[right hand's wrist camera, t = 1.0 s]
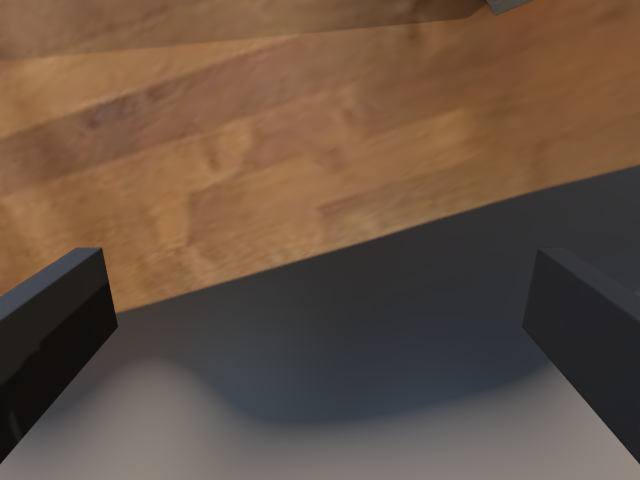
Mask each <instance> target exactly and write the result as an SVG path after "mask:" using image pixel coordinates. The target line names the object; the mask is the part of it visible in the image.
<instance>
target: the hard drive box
mask: <svg viewBox="0 0 640 480" xmlns="http://www.w3.org/2000/svg"><path fill="white" fill-rule="evenodd" d="M486 1H487V3H488V4H489V6H490V8H491V10H492V11H493V13H494V14H495V15H498V14H500V13H503V12H505V11H508V10H510V9H513V8H516V7H518V6H520V5H523V4H525V3H527V2H530V1H532V0H486Z"/></svg>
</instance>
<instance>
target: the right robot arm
mask: <svg viewBox="0 0 640 480" xmlns="http://www.w3.org/2000/svg"><path fill="white" fill-rule="evenodd" d="M117 327H118V324H117V320H116V315H115V310H114V305H113V300H112V295H111V290H110V285H109V280H108V275H107V270H106V265H105V261H104V256H103V251H102V248H75V249H74V250H72V251H71V252H69V253H68V254H66V255H64V256H63V257H61V258H60V259H58V260H57V261H55V262H54V263H52V264H50V265H49V266H47V267H46V268H44V269H43V270H41V271H40V272H38V273H36V274H35V275H33V276H32V277H30V278H29V279H27V280H26V281H24V282H22V283H21V284H19V285H18V286H16V287H15V288H13V289H12V290H10V291H8V292H7V293H5V294H4V295H2V296H1V297H0V464H1V463H2V461H3V460H4V459H5V458H6V457H7V456H8V454H9V453H10V452H11V451H12V450H13V449H14V447H15V446H16V445H17V444H18V443H19V442H20V440H21V439H22V438H23V437H24V436H25V435H26V433H27V432H28V431H29V430H30V429H31V428H32V426H33V425H34V424H35V423H36V422H37V421H38V419H39V418H40V417H41V416H42V415H43V414H44V412H45V411H46V410H47V409H48V408H49V407H50V405H51V404H52V403H53V402H54V401H55V400H56V398H57V397H58V396H59V395H60V394H61V393H62V391H63V390H64V389H65V388H66V387H67V386H68V384H69V383H70V382H71V381H72V380H73V379H74V377H75V376H76V375H77V374H78V373H79V372H80V370H81V369H82V368H83V367H84V366H85V365H86V363H87V362H88V361H89V360H90V359H91V358H92V356H93V355H94V354H95V353H96V352H97V351H98V349H99V348H100V347H101V346H102V345H103V344H104V342H105V341H106V340H107V339H108V338H109V337H110V335H111V334H112V333H113V332H114V331H115V330H116V328H117ZM522 327H523V328H524V330H525V331H526V332H527V333H528V334H529V335H530V337H531V338H532V339H533V340H534V341H535V342H536V344H537V345H538V346H539V347H540V348H541V349H542V351H543V352H544V353H545V354H546V355H547V356H548V358H549V359H550V360H551V361H552V362H553V363H554V365H555V366H556V367H557V368H558V369H559V370H560V372H561V373H562V374H563V375H564V376H565V377H566V379H567V380H568V381H569V382H570V383H571V384H572V386H573V387H574V388H575V389H576V390H577V391H578V393H579V394H580V395H581V396H582V397H583V398H584V400H585V401H586V402H587V403H588V404H589V405H590V407H591V408H592V409H593V410H594V411H595V412H596V414H597V415H598V416H599V417H600V418H601V419H602V421H603V422H604V423H605V424H606V425H607V426H608V428H609V429H610V430H611V431H612V432H613V433H614V435H615V436H616V437H617V438H618V439H619V440H620V442H621V443H622V444H623V445H624V446H625V447H626V449H627V450H628V451H629V452H630V453H631V454H632V456H633V457H634V458H635V459H636V460H637V461H638V463H639V464H640V297H639V296H638V295H636V294H635V293H633V292H631V291H630V290H628V289H627V288H625V287H624V286H622V285H621V284H619V283H618V282H616V281H614V280H613V279H611V278H610V277H608V276H607V275H605V274H604V273H602V272H600V271H599V270H597V269H596V268H594V267H593V266H591V265H590V264H588V263H586V262H585V261H583V260H582V259H580V258H579V257H577V256H576V255H574V254H572V253H571V252H569V251H568V250H566V249H565V248H538V251H537V256H536V261H535V265H534V270H533V275H532V280H531V285H530V290H529V295H528V300H527V305H526V310H525V315H524V320H523V324H522Z"/></svg>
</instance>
